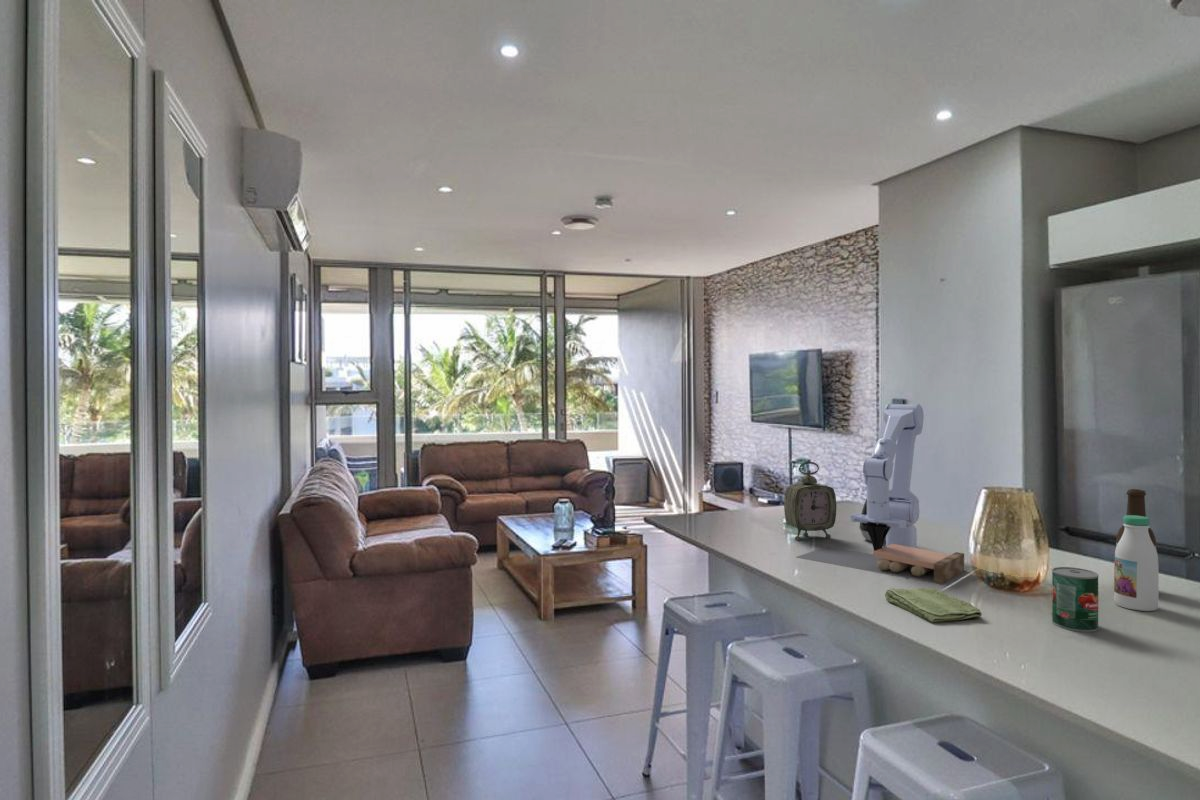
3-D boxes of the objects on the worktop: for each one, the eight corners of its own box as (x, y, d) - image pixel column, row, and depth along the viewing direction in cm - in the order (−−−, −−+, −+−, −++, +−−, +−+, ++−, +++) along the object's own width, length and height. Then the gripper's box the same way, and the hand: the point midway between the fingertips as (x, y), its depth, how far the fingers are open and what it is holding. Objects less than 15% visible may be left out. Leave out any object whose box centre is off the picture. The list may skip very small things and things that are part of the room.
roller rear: (894, 553, 192) (904, 549, 190) (899, 563, 191) (909, 560, 189) (873, 562, 182) (883, 558, 180) (878, 573, 181) (888, 569, 179)
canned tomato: (1100, 634, 135) (1100, 579, 135) (1052, 627, 139) (1052, 573, 139) (1096, 622, 142) (1096, 570, 142) (1051, 616, 146) (1051, 565, 146)
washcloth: (932, 627, 142) (932, 611, 142) (881, 601, 159) (881, 587, 159) (987, 621, 144) (987, 606, 144) (930, 596, 162) (930, 583, 162)
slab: (892, 548, 192) (892, 543, 192) (953, 560, 181) (953, 555, 181) (873, 556, 184) (874, 551, 184) (936, 569, 172) (936, 563, 172)
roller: (927, 557, 185) (938, 556, 183) (930, 568, 185) (940, 567, 183) (907, 567, 176) (918, 566, 174) (910, 578, 175) (921, 577, 173)
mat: (825, 547, 210) (825, 546, 210) (967, 571, 181) (967, 570, 181) (795, 558, 197) (795, 557, 197) (943, 586, 168) (943, 584, 168)
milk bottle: (1149, 602, 154) (1149, 514, 154) (1164, 613, 147) (1165, 520, 147) (1108, 599, 157) (1109, 512, 156) (1122, 610, 149) (1122, 519, 149)
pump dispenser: (887, 536, 223) (887, 490, 223) (898, 544, 213) (898, 495, 213) (855, 536, 224) (855, 490, 224) (864, 543, 214) (864, 495, 214)
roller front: (921, 561, 187) (911, 565, 188) (915, 551, 188) (905, 555, 189) (901, 571, 177) (891, 575, 179) (895, 560, 178) (885, 564, 180)
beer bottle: (1150, 587, 166) (1151, 488, 165) (1161, 596, 159) (1162, 493, 158) (1111, 583, 169) (1112, 486, 168) (1120, 592, 162) (1120, 491, 161)
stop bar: (956, 570, 182) (956, 552, 182) (964, 572, 181) (964, 553, 181) (933, 583, 171) (933, 563, 171) (942, 585, 169) (942, 565, 169)
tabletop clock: (794, 542, 216) (794, 463, 216) (781, 536, 225) (781, 460, 225) (836, 540, 219) (836, 462, 219) (821, 534, 228) (821, 459, 228)
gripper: (845, 500, 191) (846, 549, 191) (898, 506, 181) (898, 557, 181) (857, 497, 196) (857, 544, 196) (909, 503, 186) (909, 553, 186)
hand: (877, 550), depth 189 cm, fingers closed
